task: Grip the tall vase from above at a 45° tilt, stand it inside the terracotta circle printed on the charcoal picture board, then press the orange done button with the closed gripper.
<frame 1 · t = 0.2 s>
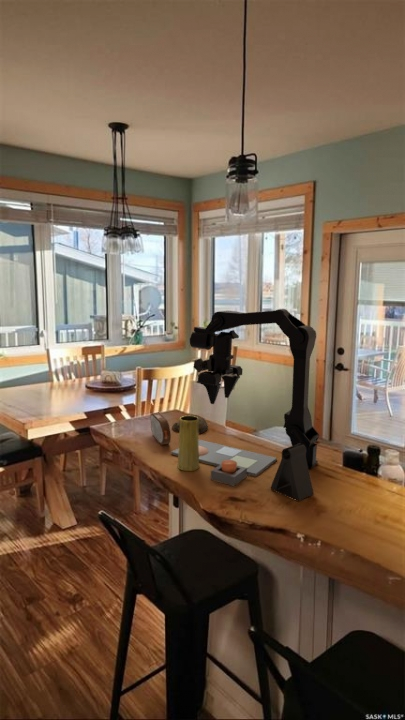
hand: (219, 400, 148), 14 cm above the counter, tool pointing down, fingers open, 9 cm apart
done button: (229, 466, 125), point 3 cm above the counter, slide at 0.0 cm
tin: (159, 440, 154), on the counter
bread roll: (191, 428, 168), on the counter
button housing: (228, 478, 126), on the counter
phone stand: (291, 492, 119), on the counter
picture board: (223, 457, 140), on the counter
vase: (188, 467, 133), on the counter
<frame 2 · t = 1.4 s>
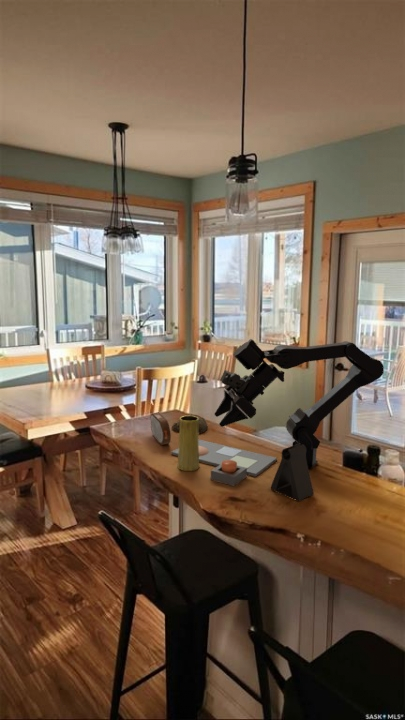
hand: (217, 420, 131), 13 cm above the counter, tool tilted 45°, fingers open, 9 cm apart
nothing on the counter moved.
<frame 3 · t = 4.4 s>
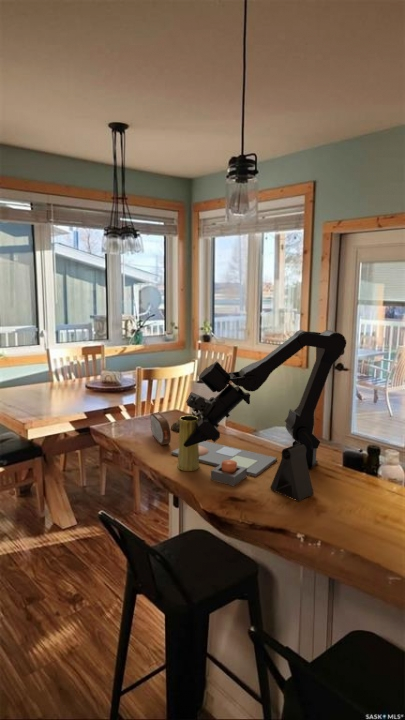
hand: (183, 442, 131), 7 cm above the counter, tool tilted 45°, fingers closed on vase, 5 cm apart
vase: (188, 467, 133), on the counter, touching gripper
everything else where it was.
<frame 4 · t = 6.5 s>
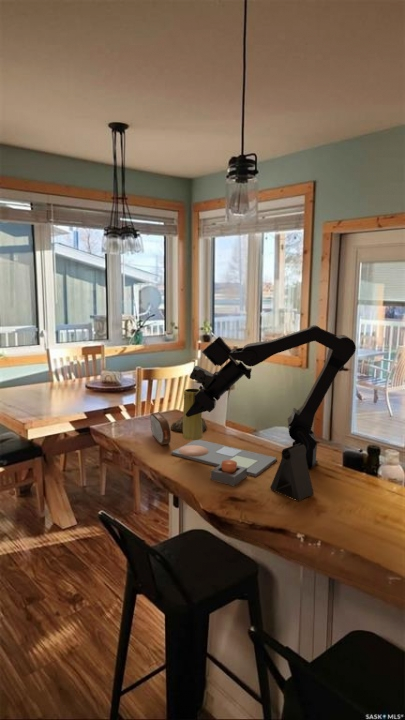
hand: (188, 413, 139), 13 cm above the counter, tool tilted 45°, fingers closed on vase, 5 cm apart
vase: (192, 437, 140), point 6 cm above the counter, touching gripper
everything else where it was.
when the fingers open (9 cm above the counter, at t = 8.5 s): vase stays where it is, resting on picture board.
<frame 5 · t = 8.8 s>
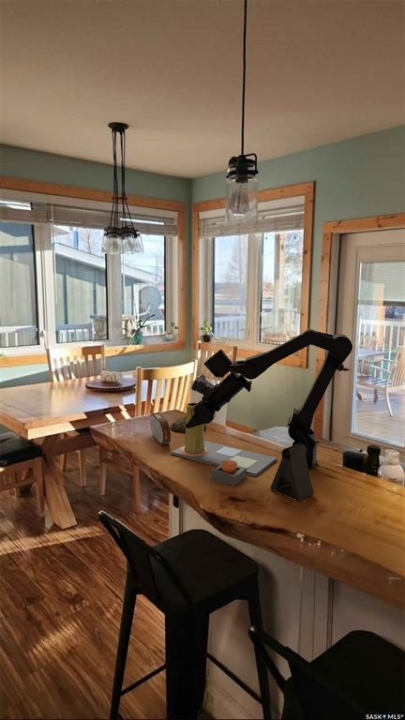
hand: (189, 423, 142), 9 cm above the counter, tool tilted 45°, fingers open, 8 cm apart
vase: (194, 450, 143), point 1 cm above the counter, touching picture board
everything else where it was.
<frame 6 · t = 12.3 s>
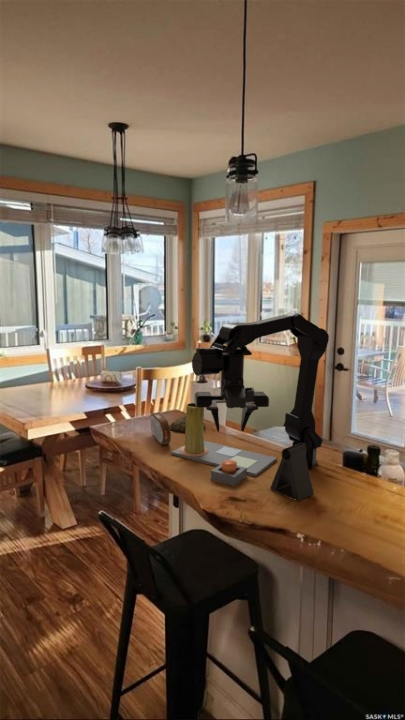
hand: (230, 431, 124), 13 cm above the counter, tool pointing down, fingers open, 6 cm apart
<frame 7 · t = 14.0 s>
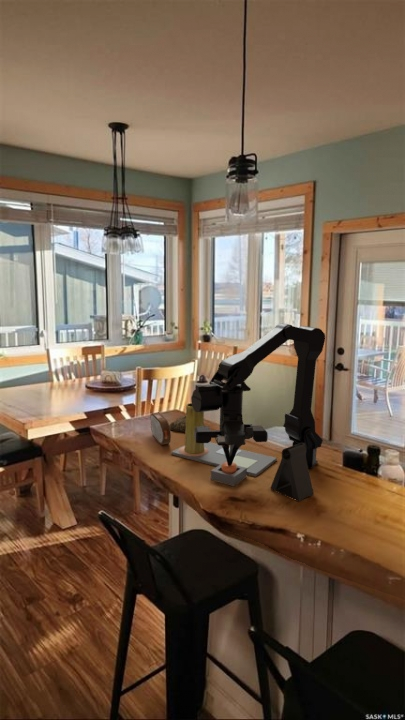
hand: (229, 465, 125), 4 cm above the counter, tool pointing down, fingers closed, pressing on done button
done button: (229, 468, 125), point 3 cm above the counter, slide at 0.6 cm, touching gripper
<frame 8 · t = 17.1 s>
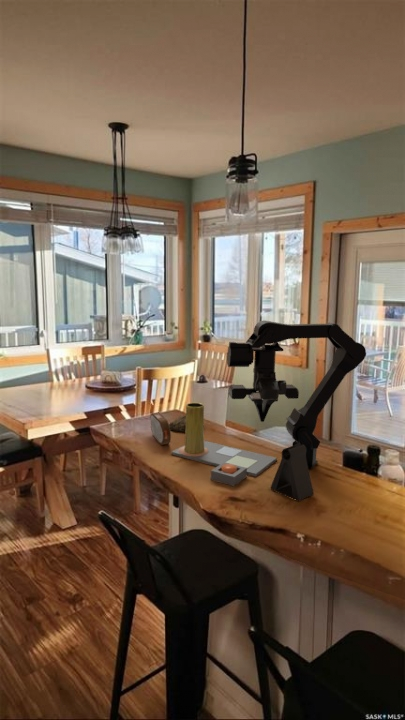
hand: (262, 421, 133), 13 cm above the counter, tool pointing down, fingers closed
done button: (229, 470, 125), point 2 cm above the counter, slide at 1.2 cm
at the end: vase 0.2 cm from the target spot on the picture board, point 0.7 cm above the picture board's base; vase tilted 0°; done button slide at 1.2 cm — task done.
